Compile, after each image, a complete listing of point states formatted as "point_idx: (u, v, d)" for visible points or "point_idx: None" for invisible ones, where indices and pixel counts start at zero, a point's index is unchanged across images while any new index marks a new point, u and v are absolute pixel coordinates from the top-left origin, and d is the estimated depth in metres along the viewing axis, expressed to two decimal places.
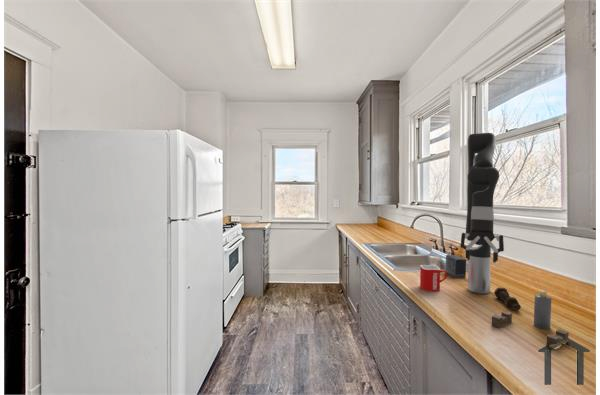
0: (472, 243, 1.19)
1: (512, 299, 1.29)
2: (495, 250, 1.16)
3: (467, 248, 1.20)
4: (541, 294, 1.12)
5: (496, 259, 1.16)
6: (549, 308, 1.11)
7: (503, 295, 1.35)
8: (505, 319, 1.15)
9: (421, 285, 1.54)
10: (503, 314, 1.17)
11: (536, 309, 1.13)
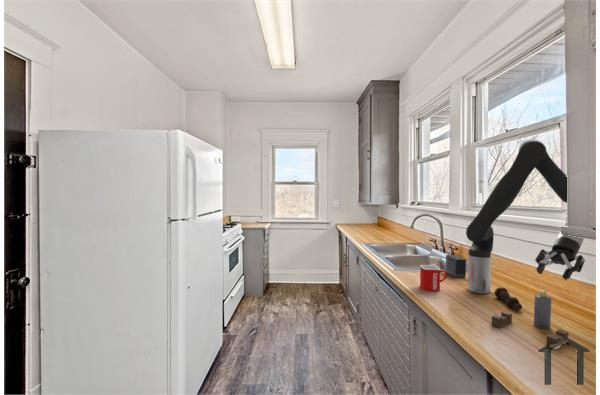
0: None
1: (513, 299, 1.29)
2: None
3: None
4: (541, 294, 1.12)
5: None
6: (549, 308, 1.11)
7: (504, 295, 1.36)
8: (505, 319, 1.15)
9: (421, 285, 1.54)
10: (503, 314, 1.17)
11: (536, 309, 1.13)
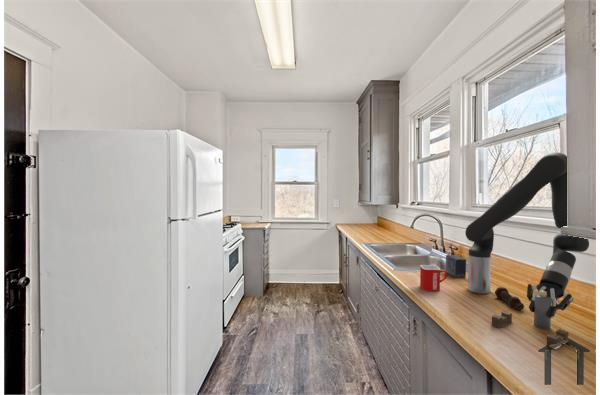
0: None
1: (515, 299, 1.30)
2: None
3: None
4: (541, 294, 1.12)
5: None
6: None
7: (505, 295, 1.36)
8: (505, 319, 1.15)
9: (421, 285, 1.54)
10: (503, 314, 1.17)
11: (536, 309, 1.13)
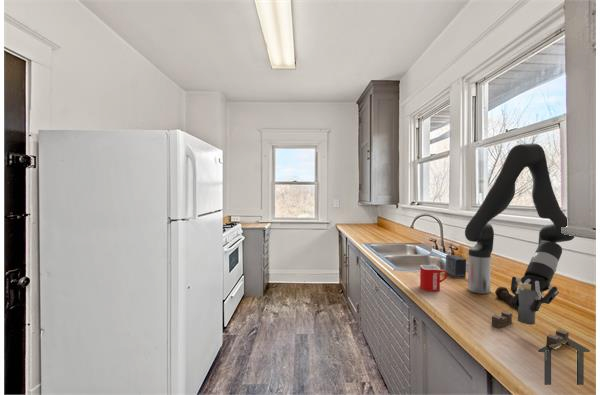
0: None
1: None
2: None
3: None
4: (525, 287, 1.06)
5: None
6: (533, 302, 1.04)
7: (506, 294, 1.36)
8: (505, 319, 1.15)
9: (421, 285, 1.54)
10: (503, 314, 1.17)
11: (520, 303, 1.06)
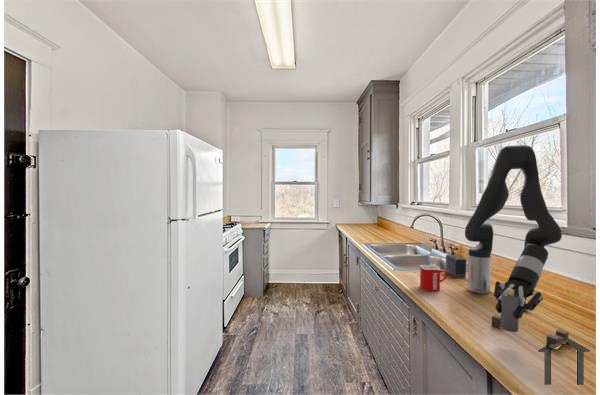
0: None
1: None
2: None
3: None
4: (508, 292, 1.01)
5: None
6: (516, 308, 0.99)
7: None
8: None
9: (421, 285, 1.54)
10: None
11: (503, 309, 1.01)
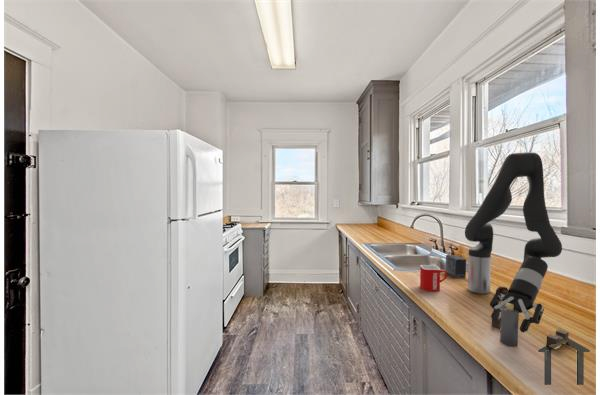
0: None
1: None
2: None
3: None
4: (507, 307, 1.01)
5: None
6: (516, 323, 0.99)
7: None
8: None
9: (421, 285, 1.54)
10: None
11: (502, 324, 1.01)
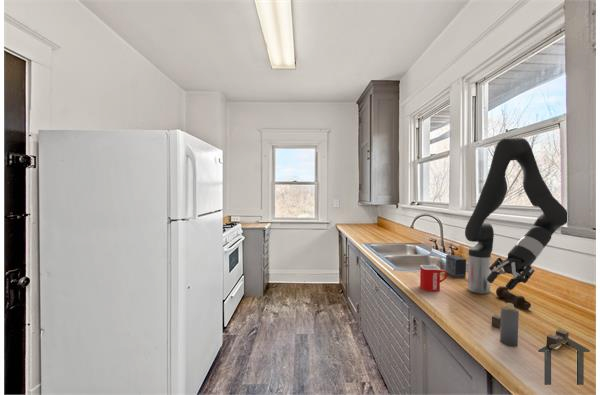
0: None
1: (521, 298, 1.31)
2: None
3: None
4: (507, 307, 1.01)
5: None
6: (516, 323, 0.99)
7: (508, 294, 1.37)
8: None
9: (421, 285, 1.54)
10: None
11: (502, 324, 1.01)
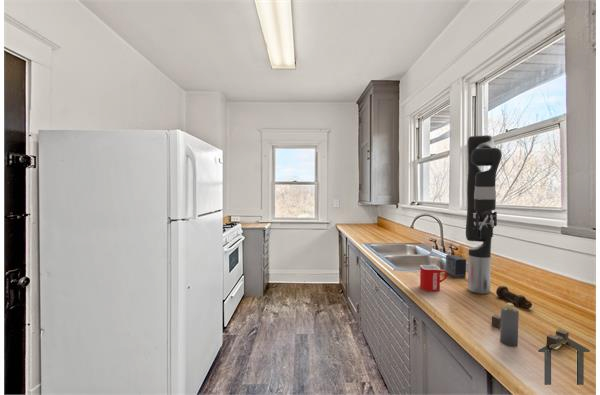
0: (484, 222, 1.22)
1: (522, 297, 1.31)
2: (493, 226, 1.27)
3: (480, 228, 1.22)
4: (507, 307, 1.01)
5: (492, 234, 1.27)
6: (516, 323, 0.99)
7: (508, 294, 1.37)
8: None
9: (421, 285, 1.54)
10: None
11: (502, 324, 1.01)
